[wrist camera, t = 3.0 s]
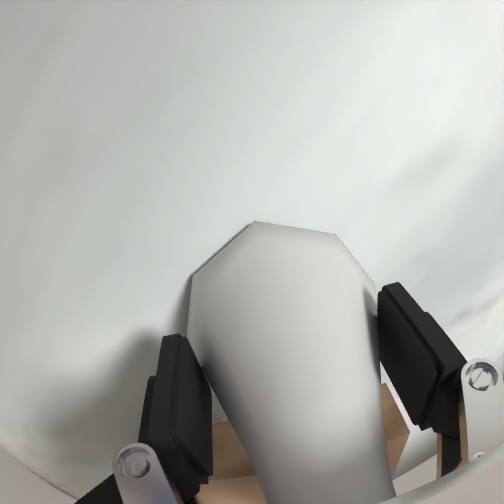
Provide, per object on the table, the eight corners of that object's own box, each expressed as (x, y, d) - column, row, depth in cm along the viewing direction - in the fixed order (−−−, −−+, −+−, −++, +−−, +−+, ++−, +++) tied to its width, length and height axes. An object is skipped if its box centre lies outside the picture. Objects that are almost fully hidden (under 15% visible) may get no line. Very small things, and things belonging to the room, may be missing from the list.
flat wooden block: (382, 377, 16) (410, 432, 12) (366, 468, 22) (378, 504, 18) (142, 424, 16) (134, 482, 12) (212, 498, 22) (214, 535, 19)
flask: (301, 385, 15) (352, 577, 6) (158, 339, 12) (130, 588, 4) (398, 269, 12) (549, 471, 3) (242, 181, 10) (351, 582, 1)
